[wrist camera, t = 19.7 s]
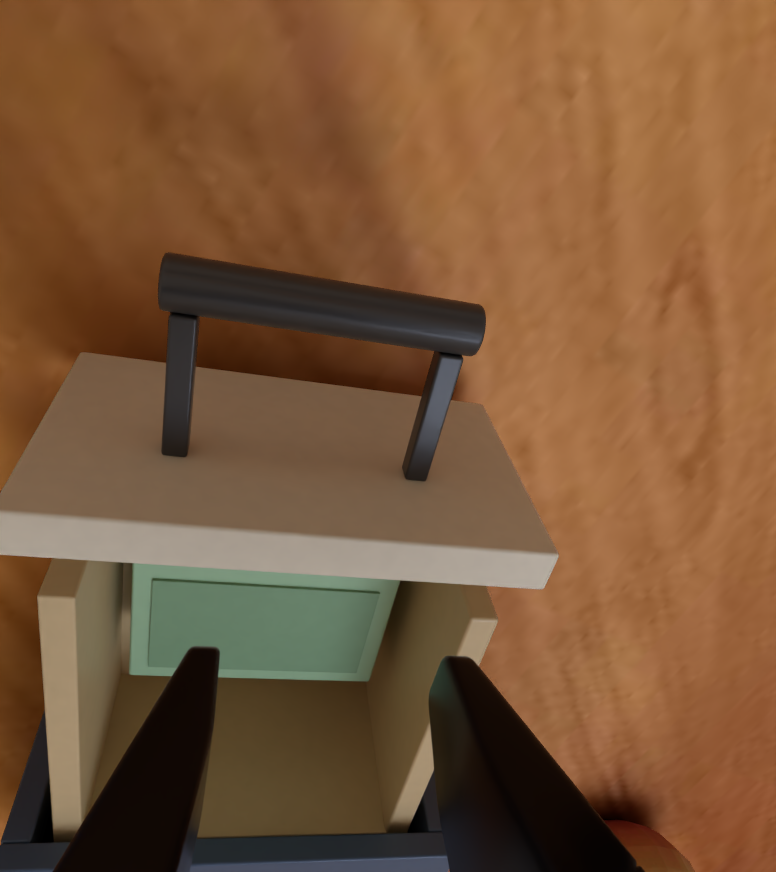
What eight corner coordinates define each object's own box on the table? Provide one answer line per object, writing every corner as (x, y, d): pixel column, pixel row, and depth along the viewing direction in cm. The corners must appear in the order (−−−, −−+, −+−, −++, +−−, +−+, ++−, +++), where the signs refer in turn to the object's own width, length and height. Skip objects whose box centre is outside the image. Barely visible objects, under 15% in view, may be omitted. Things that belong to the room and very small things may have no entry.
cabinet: (74, 618, 26) (-11, 872, 18) (410, 633, 29) (457, 856, 21) (80, 822, 33) (21, 1064, 26) (347, 817, 36) (366, 1030, 29)
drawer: (76, 177, 17) (-38, 276, 11) (530, 262, 20) (643, 378, 14) (85, 662, 26) (26, 863, 20) (392, 671, 29) (423, 850, 23)
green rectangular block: (362, 627, 25) (369, 685, 23) (141, 617, 24) (127, 678, 21) (390, 526, 23) (402, 581, 21) (146, 506, 21) (131, 563, 19)
